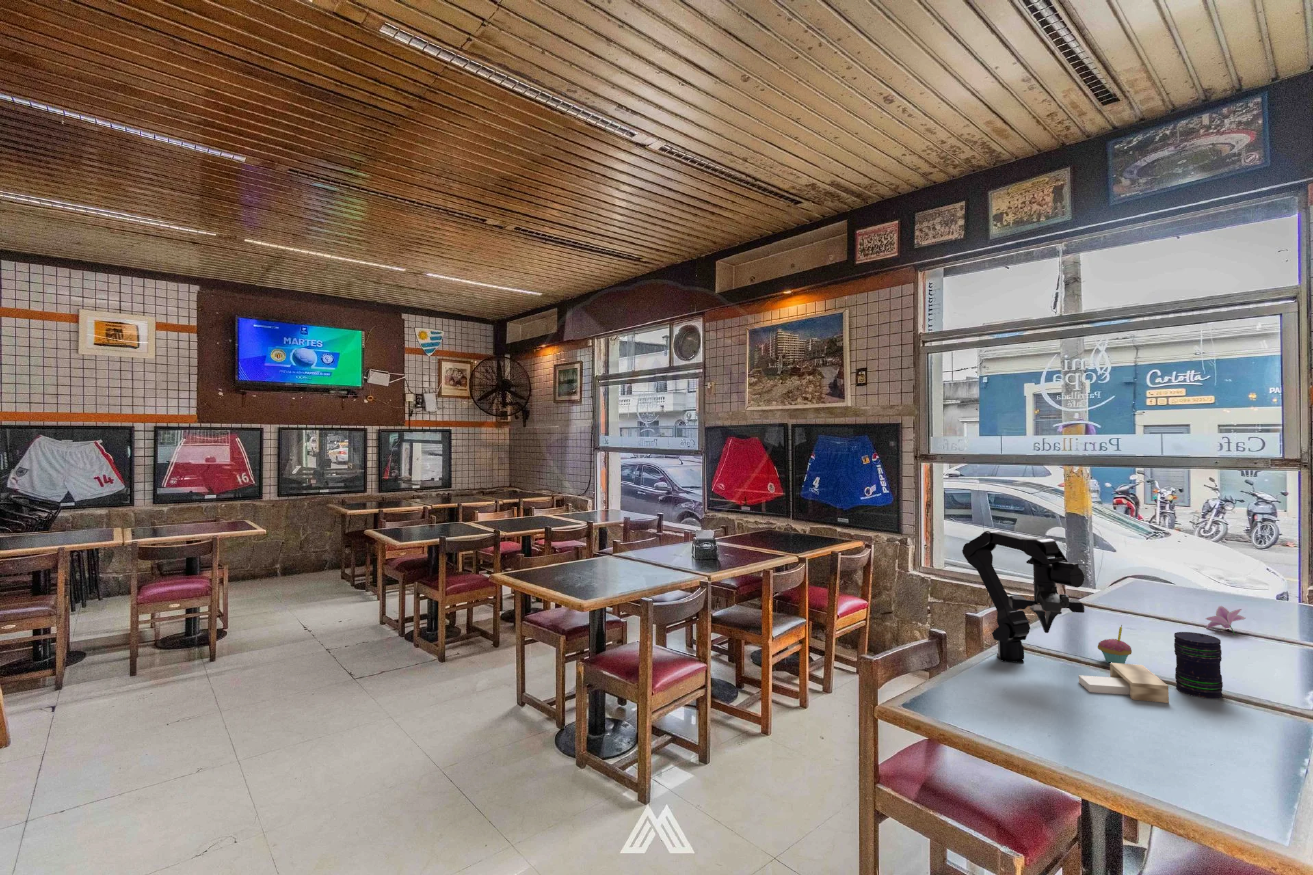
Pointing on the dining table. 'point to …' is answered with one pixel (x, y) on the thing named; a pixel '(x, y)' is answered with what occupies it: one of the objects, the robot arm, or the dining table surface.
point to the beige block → (1141, 682)
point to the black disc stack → (1198, 665)
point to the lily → (1224, 618)
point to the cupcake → (1115, 649)
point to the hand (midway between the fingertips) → (1046, 632)
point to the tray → (1105, 684)
